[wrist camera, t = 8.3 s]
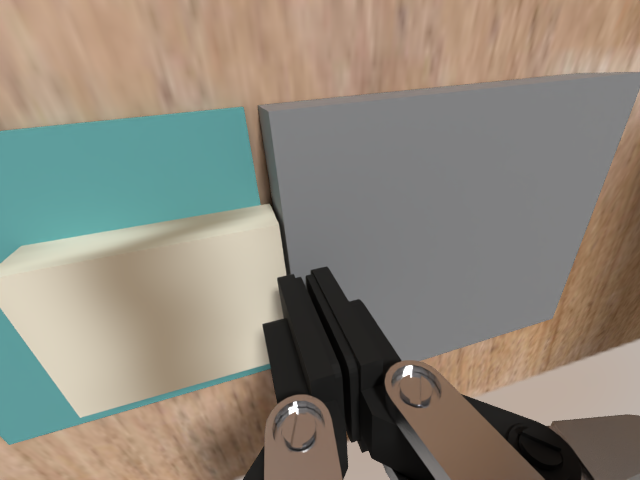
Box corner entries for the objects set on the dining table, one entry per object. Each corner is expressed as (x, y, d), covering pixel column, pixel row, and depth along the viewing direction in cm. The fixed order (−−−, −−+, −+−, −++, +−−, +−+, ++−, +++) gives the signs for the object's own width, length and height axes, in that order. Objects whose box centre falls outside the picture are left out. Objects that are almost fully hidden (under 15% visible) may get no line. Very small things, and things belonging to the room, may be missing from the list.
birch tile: (269, 203, 12) (279, 224, 10) (288, 323, 14) (298, 355, 13) (21, 245, 10) (-21, 280, 8) (98, 372, 13) (80, 417, 11)
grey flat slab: (578, 73, 13) (646, 71, 11) (515, 292, 19) (552, 318, 17) (257, 105, 10) (268, 111, 8) (295, 354, 16) (308, 396, 14)
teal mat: (242, 106, 10) (243, 107, 10) (286, 357, 16) (288, 363, 16) (-249, 155, 8) (-270, 159, 7) (14, 435, 13) (9, 444, 13)
